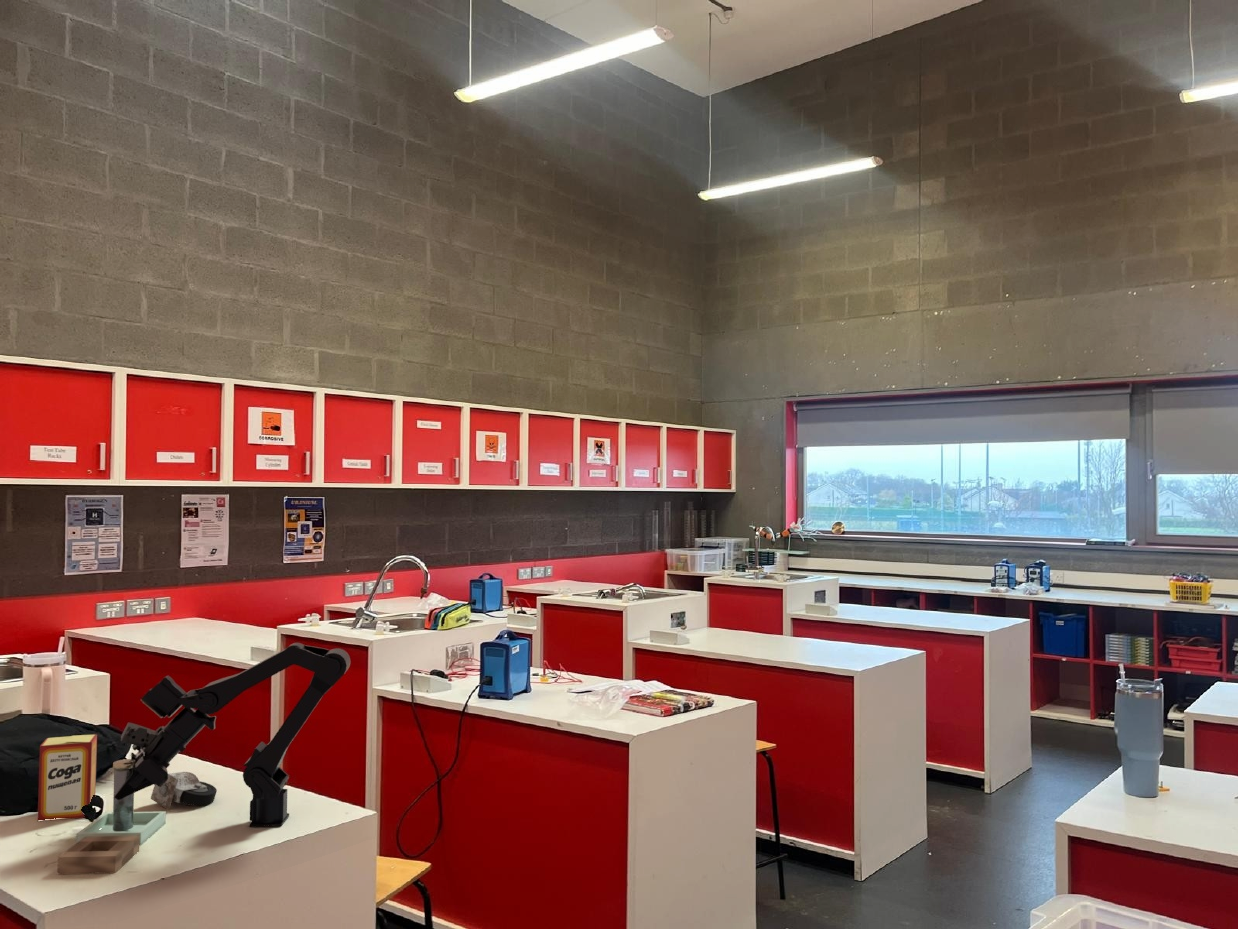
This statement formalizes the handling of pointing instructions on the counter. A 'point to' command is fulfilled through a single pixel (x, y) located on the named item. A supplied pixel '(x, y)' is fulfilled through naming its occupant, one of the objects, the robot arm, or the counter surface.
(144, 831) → the tray
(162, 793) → the caster wheel
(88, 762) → the baking soda box
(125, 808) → the pin
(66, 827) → the counter surface
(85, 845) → the block
